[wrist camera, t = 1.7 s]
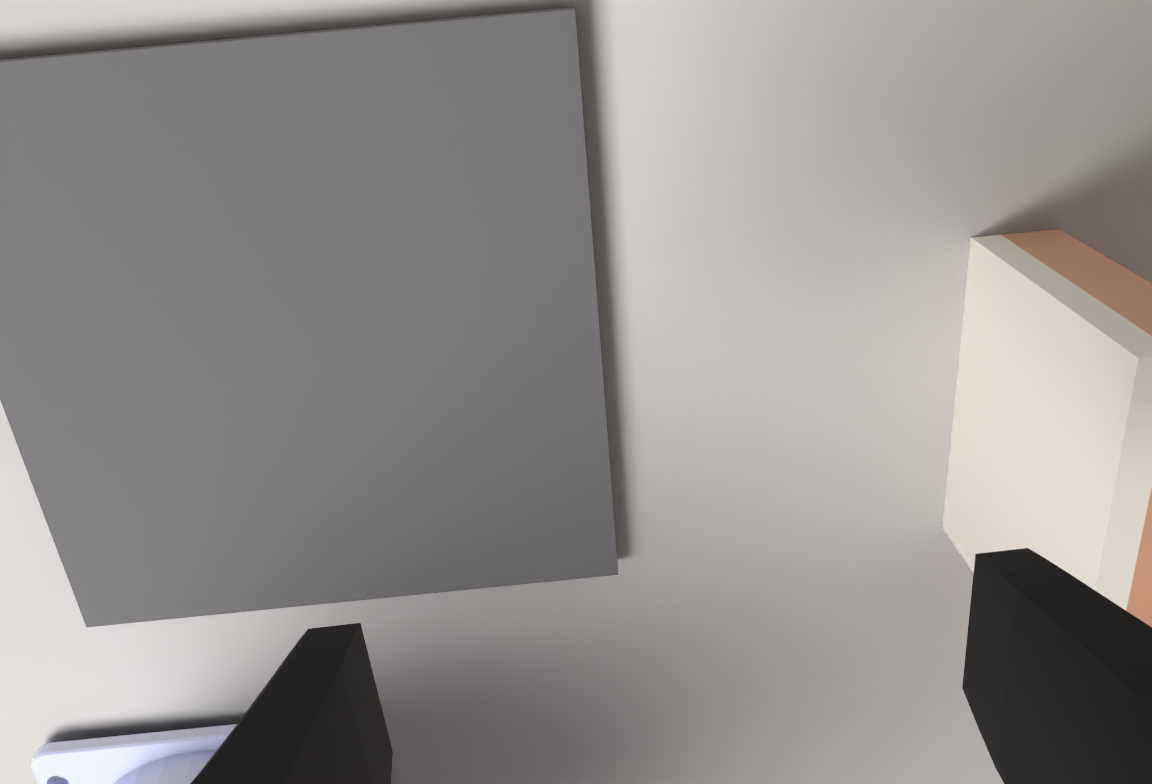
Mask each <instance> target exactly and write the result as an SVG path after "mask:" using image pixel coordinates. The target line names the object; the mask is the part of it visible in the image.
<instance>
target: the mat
mask: <svg viewBox="0 0 1152 784" xmlns="http://www.w3.org/2000/svg"><path fill="white" fill-rule="evenodd" d="M0 400H1V403H2V405H3V408H4V411H5V413H6V416H7V419H8V421H9V424H10V427H11V429H12V432H13V434H14V437H15V440H16V442H17V445H18V448H19V450H20V453H21V455H22V458H23V461H24V463H25V466H26V469H27V471H28V474H29V477H30V479H31V482H32V484H33V487H34V490H35V492H36V495H37V498H38V500H39V503H40V506H41V508H42V511H43V513H44V516H45V519H46V521H47V524H48V527H49V529H50V532H51V535H52V537H53V540H54V542H55V545H56V548H57V550H58V553H59V556H60V558H61V561H62V564H63V566H64V569H65V571H66V574H67V577H68V579H69V582H70V585H71V587H72V590H73V593H74V595H75V598H76V600H77V603H78V606H79V608H80V611H81V614H82V616H83V619H84V622H85V624H86V627H93V626H103V625H113V624H123V623H134V622H144V621H154V620H164V619H174V618H184V617H194V616H204V615H215V614H225V613H235V612H245V611H255V610H265V609H275V608H285V607H295V606H306V605H316V604H326V603H336V602H346V601H356V600H366V599H376V598H386V597H397V596H407V595H417V594H427V593H437V592H447V591H457V590H467V589H478V588H488V587H498V586H508V585H518V584H528V583H538V582H548V581H558V580H569V579H579V578H589V577H599V576H609V575H618V563H617V550H616V537H615V524H614V511H613V498H612V485H611V472H610V459H609V446H608V433H607V420H606V406H605V393H604V380H603V367H602V354H601V341H600V328H599V315H598V302H597V289H596V276H595V263H594V250H593V237H592V224H591V211H590V197H589V184H588V171H587V158H586V145H585V132H584V119H583V106H582V93H581V80H580V67H579V54H578V41H577V28H576V15H575V8H574V7H564V8H553V9H542V10H531V11H520V12H510V13H499V14H488V15H477V16H466V17H455V18H444V19H434V20H423V21H412V22H401V23H390V24H379V25H368V26H357V27H347V28H336V29H325V30H314V31H303V32H292V33H281V34H270V35H260V36H249V37H238V38H227V39H216V40H205V41H194V42H183V43H173V44H162V45H151V46H140V47H129V48H118V49H107V50H96V51H86V52H75V53H64V54H53V55H42V56H31V57H20V58H9V59H0Z"/></svg>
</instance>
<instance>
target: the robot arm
mask: <svg viewBox="0 0 1152 784" xmlns="http://www.w3.org/2000/svg"><path fill="white" fill-rule="evenodd" d="M963 690H964V693H965V695H966V698H967V700H968V703H969V705H970V708H971V710H972V713H973V715H974V718H975V720H976V723H977V725H978V728H979V730H980V733H981V735H982V737H983V740H984V742H985V744H986V746H987V749H988V751H989V753H990V756H991V758H992V760H993V763H994V765H995V767H996V769H997V771H998V773H999V775H1000V776H1001V778H1002V780H1003V782H1004V784H1152V627H1151V626H1149V625H1147V624H1146V623H1144V622H1143V621H1141V620H1140V619H1138V618H1137V617H1135V616H1133V615H1132V614H1130V613H1129V612H1127V611H1126V610H1124V609H1123V608H1121V607H1120V606H1118V605H1117V604H1115V603H1113V602H1112V601H1110V600H1109V599H1107V598H1106V597H1104V596H1103V595H1101V594H1100V593H1098V592H1097V591H1095V590H1094V589H1092V588H1091V587H1089V586H1087V585H1086V584H1084V583H1083V582H1081V581H1080V580H1078V579H1077V578H1075V577H1074V576H1072V575H1071V574H1069V573H1067V572H1066V571H1064V570H1063V569H1061V568H1060V567H1058V566H1057V565H1055V564H1053V563H1052V562H1050V561H1049V560H1047V559H1045V558H1044V557H1042V556H1040V555H1039V554H1037V553H1035V552H1034V551H1032V550H1030V549H1029V548H1023V549H1014V550H1005V551H997V552H988V553H979V554H976V555H975V565H974V575H973V585H972V596H971V606H970V616H969V626H968V637H967V647H966V657H965V667H964V678H963ZM392 753H393V752H392V748H391V744H390V740H389V736H388V732H387V728H386V724H385V720H384V716H383V712H382V708H381V704H380V700H379V696H378V692H377V688H376V684H375V680H374V676H373V672H372V668H371V664H370V660H369V656H368V652H367V648H366V644H365V640H364V636H363V632H362V628H361V624H360V623H357V624H348V625H339V626H330V627H321V628H312V629H308V630H307V631H306V632H305V634H304V635H303V636H302V637H301V638H300V640H299V641H298V642H297V644H296V645H295V646H294V648H293V649H292V650H291V652H290V653H289V655H288V656H287V657H286V659H285V660H284V661H283V663H282V664H281V665H280V667H279V668H278V670H277V671H276V672H275V674H274V675H273V677H272V678H271V679H270V681H269V682H268V683H267V685H266V686H265V687H264V689H263V690H262V692H261V693H260V694H259V696H258V697H257V698H256V700H255V701H254V702H253V704H252V705H251V706H250V708H249V709H248V710H247V712H246V713H245V714H244V716H243V717H242V718H241V720H240V721H239V722H238V724H232V725H222V726H212V727H202V728H192V729H182V730H172V731H162V732H152V733H142V734H132V735H122V736H112V737H102V738H92V739H83V740H73V741H63V742H53V743H48V744H44V745H43V746H41V747H40V748H39V749H38V750H37V752H36V754H35V756H34V757H33V759H32V762H31V768H32V771H33V773H34V775H35V778H36V780H37V782H38V784H391V769H392ZM58 776H61V777H63V778H61V777H58ZM64 778H65V779H64Z"/></svg>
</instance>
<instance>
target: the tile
mask: <svg viewBox="0 0 1152 784" xmlns="http://www.w3.org/2000/svg"><path fill="white" fill-rule="evenodd" d="M942 528H943V530H944V531H945V533H946V534H947V536H948V537H949V538H950V540H951V541H952V543H953V544H954V546H955V547H956V549H957V550H958V552H959V553H960V554H961V556H962V557H963V559H964V560H965V562H966V563H967V565H968V566H969V568H970V569H971V570H972V572H973V573H974V565H975V555H976V554H979V553H988V552H997V551H1005V550H1014V549H1023V548H1029V549H1030V550H1032V551H1034V552H1035V553H1037V554H1039V555H1040V556H1042V557H1044V558H1045V559H1047V560H1049V561H1050V562H1052V563H1053V564H1055V565H1057V566H1058V567H1060V568H1061V569H1063V570H1064V571H1066V572H1067V573H1069V574H1071V575H1072V576H1074V577H1075V578H1077V579H1078V580H1080V581H1081V582H1083V583H1084V584H1086V585H1087V586H1089V587H1091V588H1092V589H1094V590H1095V591H1097V592H1098V593H1100V594H1101V595H1103V596H1104V597H1106V598H1107V599H1109V600H1110V601H1112V602H1113V603H1115V604H1117V605H1118V606H1120V607H1121V608H1123V609H1124V610H1126V611H1127V612H1129V613H1130V614H1132V615H1133V616H1135V617H1137V618H1138V619H1140V620H1141V621H1143V622H1144V623H1146V624H1147V625H1149V626H1151V627H1152V283H1151V282H1149V281H1148V280H1146V279H1144V278H1142V277H1141V276H1139V275H1137V274H1136V273H1134V272H1132V271H1131V270H1129V269H1127V268H1125V267H1124V266H1122V265H1120V264H1119V263H1117V262H1115V261H1114V260H1112V259H1110V258H1108V257H1107V256H1105V255H1103V254H1102V253H1100V252H1098V251H1097V250H1095V249H1093V248H1091V247H1090V246H1088V245H1086V244H1085V243H1083V242H1081V241H1080V240H1078V239H1076V238H1074V237H1073V236H1071V235H1069V234H1068V233H1066V232H1064V231H1063V230H1061V229H1053V230H1043V231H1032V232H1022V233H1011V234H1001V235H990V236H980V237H971V243H970V253H969V263H968V273H967V283H966V293H965V303H964V313H963V324H962V334H961V344H960V354H959V364H958V374H957V384H956V394H955V405H954V415H953V425H952V435H951V445H950V455H949V465H948V475H947V486H946V496H945V506H944V516H943V526H942Z"/></svg>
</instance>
